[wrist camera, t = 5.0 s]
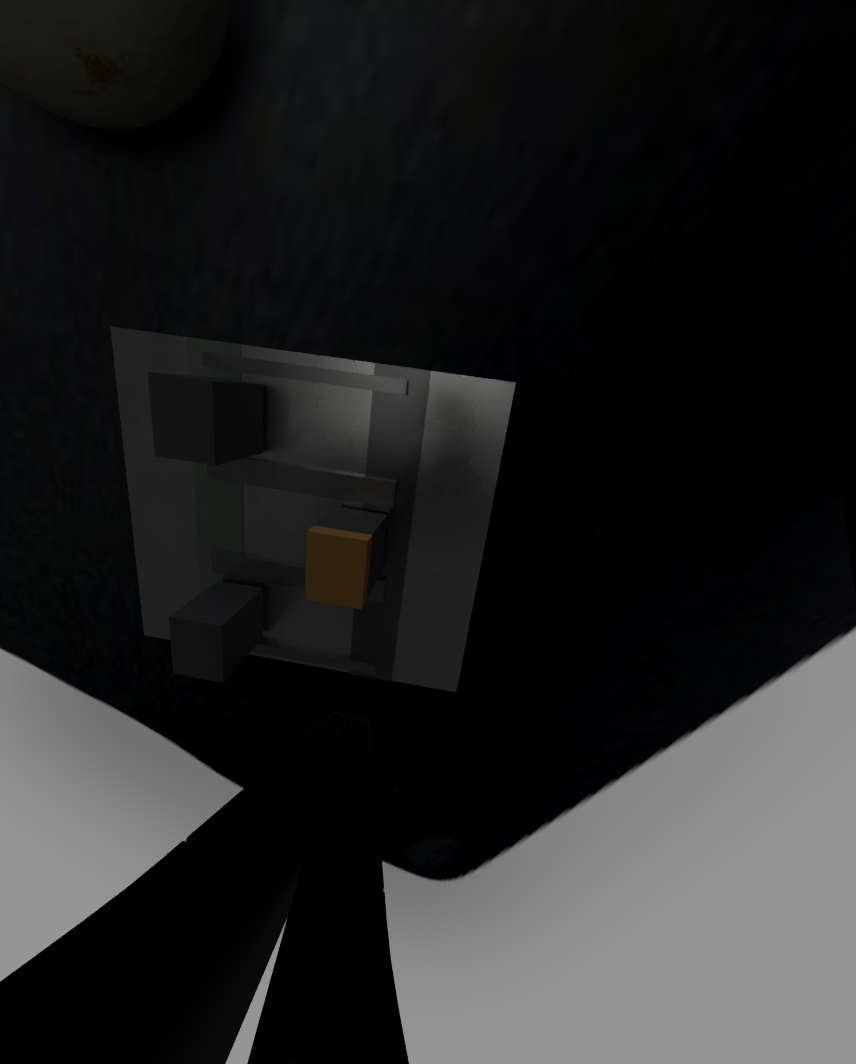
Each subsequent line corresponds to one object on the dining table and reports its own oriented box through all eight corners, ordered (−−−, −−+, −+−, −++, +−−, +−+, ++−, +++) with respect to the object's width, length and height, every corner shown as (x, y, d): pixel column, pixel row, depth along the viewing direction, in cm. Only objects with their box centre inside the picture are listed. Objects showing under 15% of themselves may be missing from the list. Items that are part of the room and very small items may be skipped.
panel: (513, 383, 18) (516, 382, 17) (456, 680, 23) (455, 697, 22) (128, 330, 19) (102, 324, 18) (157, 625, 24) (138, 639, 23)
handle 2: (263, 588, 21) (221, 626, 17) (263, 637, 22) (223, 682, 18) (218, 580, 21) (168, 616, 18) (220, 629, 22) (173, 673, 19)
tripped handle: (387, 514, 19) (367, 540, 16) (381, 572, 20) (361, 609, 16) (337, 506, 19) (307, 530, 16) (333, 564, 20) (304, 599, 17)
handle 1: (263, 384, 18) (211, 381, 14) (263, 453, 19) (215, 465, 15) (211, 377, 18) (147, 371, 14) (213, 445, 19) (154, 456, 15)
